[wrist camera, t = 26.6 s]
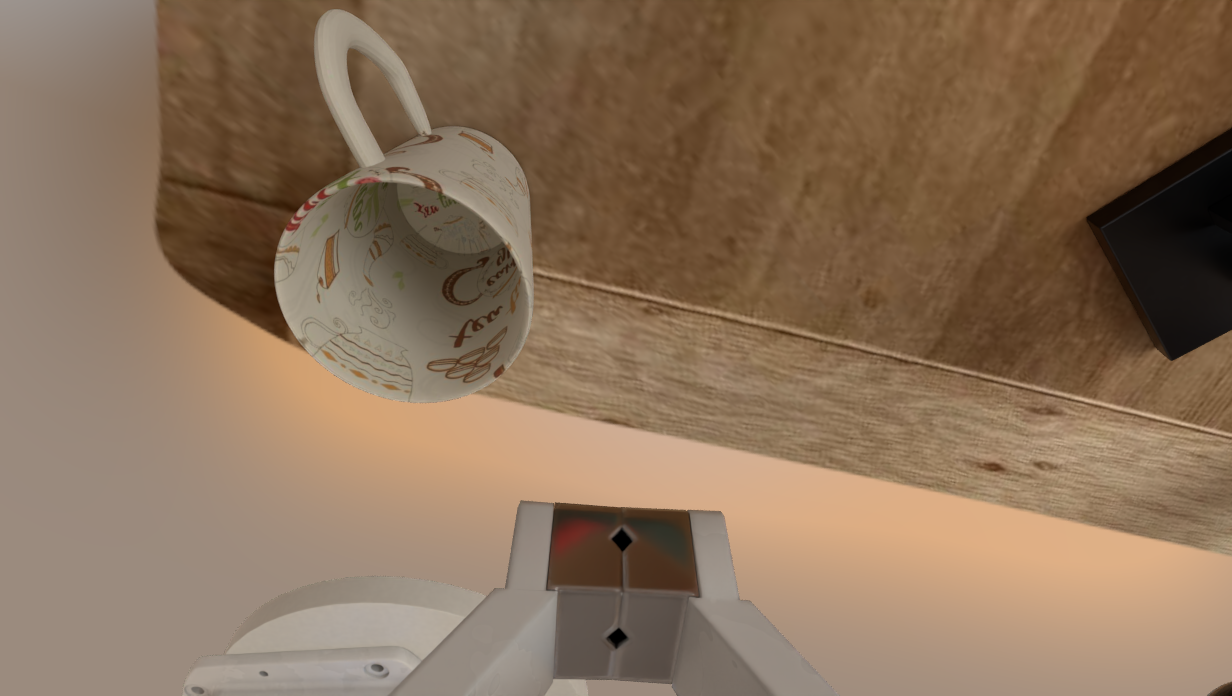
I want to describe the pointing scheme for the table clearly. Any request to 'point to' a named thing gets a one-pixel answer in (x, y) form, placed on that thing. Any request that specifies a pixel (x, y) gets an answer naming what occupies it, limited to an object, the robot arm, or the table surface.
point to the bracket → (1176, 248)
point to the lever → (1222, 690)
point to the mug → (408, 246)
